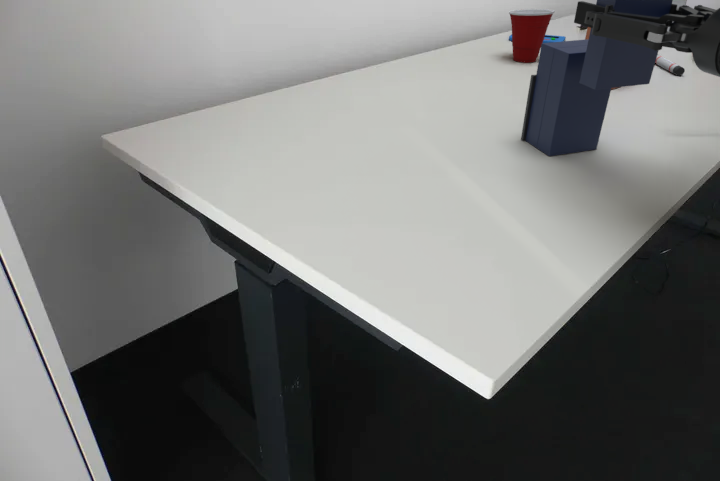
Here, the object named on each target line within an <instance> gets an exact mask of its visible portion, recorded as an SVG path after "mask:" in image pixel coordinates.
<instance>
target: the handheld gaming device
mask: <svg viewBox="0 0 720 481" xmlns="http://www.w3.org/2000/svg"><path fill="white" fill-rule="evenodd" d="M566 39H567V38H566V36H563V35H552V34H545V37H544V40H543V43H551V42H563V41H566ZM508 40H509V41H511V42H512V33H511V34H510V35H509V36H508Z"/></svg>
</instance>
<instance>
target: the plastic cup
mask: <svg viewBox="0 0 720 481" xmlns="http://www.w3.org/2000/svg"><path fill="white" fill-rule="evenodd" d="M508 14H509V15H510V23H511V24H510V25H511V34H512V41H511V46H512V60H513V61H515V62H517V63H522V64H523V63H524V64H527V63H528V64H529V63H535V62H536V61H537V60H538V59H539V55H540V51H541V45H542V43H543V40H544V37H545V35H547V30H548V27H549V25H550V22H551V20H552V17H553V15H554V14H555V10H554V9H548V8H521V9H519V8H517V9H512V10H511V9H510V10H508Z"/></svg>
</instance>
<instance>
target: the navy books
mask: <svg viewBox="0 0 720 481" xmlns="http://www.w3.org/2000/svg"><path fill="white" fill-rule="evenodd" d="M588 40H589V39H586V40H585V39H575V40H565V41H563V42H551V43H542V45H541V48H540V51H539V56H538V64H537V68H536V74H531V75H530V80H529V86H528V93H527V97H526V107H525V111H524V118H523V123H522V129H521V136H520V140H521V141H522V142H524V141H525V142H526V143H528V144H530V145H532V146H533V147H534V148H535V149H537V150H538V151H540V152H541V153H544V154H545V155H546V156H548V157H554V156H561V155H567V154H573V153H574V154H575V153H581V152H587V151H588V152H589V151H594V150H597V148H598V144H599V140H600V136H601V132H602V128H603V124H604V120H605V115H606V111H607V108H608V104H609V99H610V96H611V91H612V90H611V88H607V89H598V90H595V89H592V88H590V87H588V86H585V85H583V84H581V83H579V82H580V78H581V73H582V68H583V64H584V59H585V54H586V49H587V45H588Z"/></svg>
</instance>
